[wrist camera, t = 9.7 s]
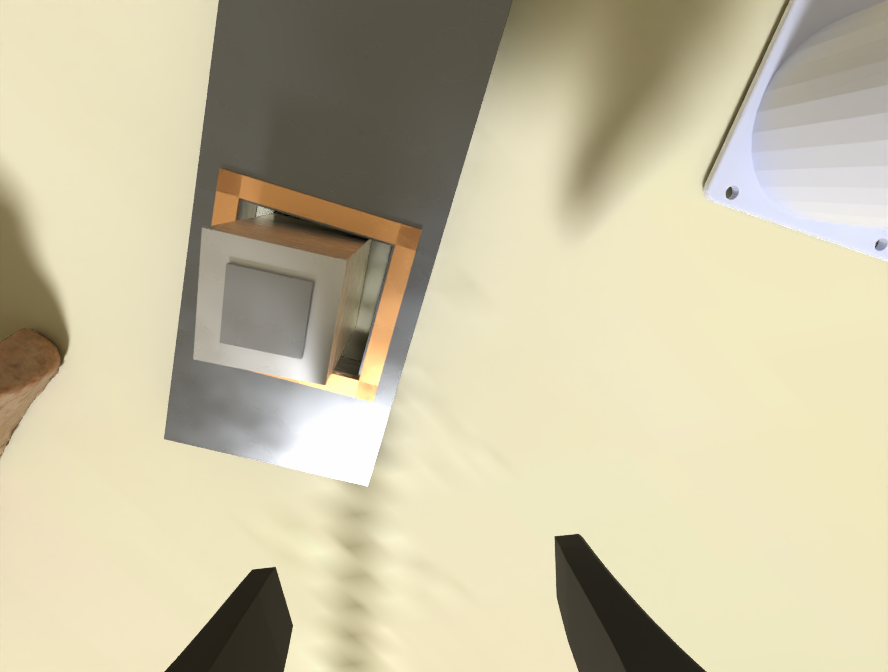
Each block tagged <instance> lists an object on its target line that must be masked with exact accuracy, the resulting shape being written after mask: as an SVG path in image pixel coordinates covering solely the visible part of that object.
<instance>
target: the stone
mask: <svg viewBox="0 0 888 672" xmlns="http://www.w3.org/2000/svg"><path fill="white" fill-rule="evenodd" d="M60 360H61V357H60V355H59V352H58V350H57V347H56V346H55V345H54V344H53V343H52V342H51V341H50V340H48V339H47V338H45V337H43V336H41V335H40V334H38V333H37V332H36V331H34V330H33V329H25V328H24V329H21V330H19V331H18V332H16V333H14V334H13V335H11V336H10V337H8V338H6V339H5V340H3V341H1V342H0V456H1V455H2V453H3V452H4V448H5V446H6V444H7V442H8V441H9V440H10V439H11V435H12V433H13V430H14V428H15V426H17V425H18V423H19V422H20V421H21V419H22V418H23V416H24V415H25V412H26V410H27V408H28V407H29V405H30V404H31V403H32V402H33V400H35V398H36V397H37V396H38V395H39V394H40V393H41V392H42V391H43V390H44V389H45V387H46V385H47V384H48V383H49V382H50V380H51V379H52V378H53V377H54V376H55V375H56V374H57V373H58V371H59V368H58V367H59V366H60V364H61V362H60ZM51 377H52V378H51Z"/></svg>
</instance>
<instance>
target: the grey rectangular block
mask: <svg viewBox="0 0 888 672" xmlns="http://www.w3.org/2000/svg"><path fill="white" fill-rule="evenodd" d="M370 246H371V239H368V238H365V237H361V236H358V235H355V234H351V233H348V232H345V231H341V230H338V229H335V228H331V227H328V226H325V225H321V224H317V223H312V222H308V221H304V220H299V219H295V218H291V217H287V216H282V215H278V214H274V213H273V214H268V215H263V216H258V217H253V218H248V219H243V220H238V221H232V222H227V223H222V224H217V225H212V226H207V227H202V234H201V249H200V265H199V280H198V295H197V310H196V325H195V341H194V356H193V359H194V360H199V361H204V362H209V363H214V364H219V365H224V366H229V367H234V368H239V369H244V370H249V371H254V372H259V373H264V374H270V375H275V376H280V377H285V378H290V379H295V380H300V381H305V382H310V383H315V384H320V385H326V383H327V381H328V380H329V378H330V376H331V374H332V372H333V370H334V368H335V366H336V364H337V362H338V360H339V358H340V356H341V354H342V352H343V351H344V349H345V347H346V345H347V343H348V341H349V339H350V337H351V335H352V333H353V331H354V329H355V327H356V322H357V317H358V311H359V306H360V300H361V295H362V289H363V284H364V278H365V273H366V268H367V262H368V257H369V251H370Z"/></svg>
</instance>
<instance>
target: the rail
mask: <svg viewBox="0 0 888 672" xmlns="http://www.w3.org/2000/svg"><path fill="white" fill-rule="evenodd" d="M511 3H512V0H219V4H218V12H217V20H216V28H215V36H214V44H213V52H212V60H211V68H210V76H209V84H208V92H207V100H206V108H205V116H204V124H203V132H202V140H201V148H200V156H199V164H198V172H197V180H196V188H195V196H194V204H193V212H192V220H191V228H190V236H189V244H188V252H187V260H186V268H185V276H184V284H183V292H182V300H181V308H180V316H179V324H178V332H177V340H176V348H175V356H174V364H173V372H172V380H171V388H170V396H169V404H168V412H167V420H166V428H165V436H164V439H166V440H171V441H175V442H179V443H184V444H188V445H192V446H197V447H201V448H205V449H210V450H214V451H218V452H223V453H227V454H231V455H236V456H240V457H244V458H249V459H253V460H257V461H262V462H266V463H270V464H275V465H279V466H283V467H288V468H292V469H296V470H301V471H305V472H309V473H313V474H318V475H322V476H326V477H331V478H335V479H339V480H344V481H348V482H352V483H357V484H361V485H365V486H368V484H369V480H370V477H371V474H372V470H373V467H374V463H375V460H376V457H377V453H378V450H379V447H380V443H381V440H382V437H383V433H384V430H385V427H386V423H387V420H388V416H389V413H390V410H391V406H392V403H393V400H394V396H395V393H396V390H397V386H398V383H399V380H400V376H401V373H402V369H403V366H404V363H405V359H406V356H407V353H408V349H409V346H410V343H411V339H412V336H413V332H414V329H415V326H416V322H417V319H418V316H419V312H420V309H421V306H422V302H423V299H424V296H425V292H426V289H427V285H428V282H429V279H430V275H431V272H432V269H433V265H434V262H435V259H436V255H437V252H438V249H439V245H440V242H441V238H442V235H443V232H444V228H445V225H446V222H447V218H448V215H449V212H450V208H451V205H452V202H453V198H454V195H455V191H456V188H457V185H458V181H459V178H460V175H461V171H462V168H463V165H464V161H465V158H466V155H467V151H468V148H469V144H470V141H471V138H472V134H473V131H474V128H475V124H476V121H477V118H478V114H479V111H480V108H481V104H482V101H483V97H484V94H485V91H486V87H487V84H488V81H489V77H490V74H491V71H492V67H493V64H494V60H495V57H496V54H497V50H498V47H499V44H500V40H501V37H502V34H503V30H504V27H505V24H506V20H507V17H508V13H509V10H510V7H511ZM257 205H258V206H261V207H265V208H268V209H271V210H275V211H278V212H281V213H285V214H288V215H291V216H295V217H298V218H301V219H305V220H308V221H311V222H315V223H318V224H321V225H325V226H328V227H331V228H335V229H338V230H341V231H345V232H348V233H351V234H355V235H358V236H361V237H365V238H368V239H371V240H375V241H378V242H381V243H385V244H388V245H391V246H392V250H391V253H390V257H389V261H388V265H387V269H386V272H385V276H384V280H383V284H382V287H381V291H380V295H379V299H378V302H377V306H376V310H375V314H374V317H373V321H372V325H371V329H370V333H369V336H368V340H367V344H366V348H365V351H364V355H363V359H362V362H360V361H356V360H352V359H348V358H345V357H341V356H340V358H339V360H338V362H337V364H336V366H335V368H334V370H333V372H332V374H331V376H330V378H329V380H328V381H327V383H326V385H320V384H315V383H310V382H305V381H300V380H295V379H290V378H285V377H280V376H275V375H270V374H264V373H259V372H254V371H249V370H244V369H239V368H234V367H229V366H224V365H219V364H214V363H209V362H204V361H199V360H194V359H193V356H194V341H195V325H196V310H197V295H198V280H199V265H200V249H201V234H202V227H207V226H212V225H217V224H222V223H227V222H232V221H238V220H243V219H248V218H253V217H255V216H256V210H257Z"/></svg>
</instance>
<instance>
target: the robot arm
mask: <svg viewBox="0 0 888 672" xmlns="http://www.w3.org/2000/svg"><path fill="white" fill-rule="evenodd" d="M729 187H732V190H733V192H732V195H731V196H730V198H726V190H727V189H728V188H729ZM703 192H704V196H705V198H706V199H707V200H709V201H711V202H714V203H717V204H719V205H722V206H725V207H728V208H731V209H734V210H737V211H740V212H743V213H746V214H749V215H752V216H754V217H757V218H760V219H763V220H766V221H769V222H772V223H775V224H778V225H781V226H784V227H787V228H789V229H792V230H795V231H798V232H801V233H804V234H807V235H810V236H813V237H816V238H819V239H822V240H824V241H827V242H830V243H833V244H836V245H839V246H842V247H845V248H848V249H851V250H854V251H857V252H859V253H862V254H865V255H868V256H871V257H874V258H877V259H880V260H883V261H886V262H888V0H790V1H789V3H788V5H787V7H786V10H785V12H784V14H783V16H782V18H781V20H780V23H779V25H778V27H777V29H776V31H775V33H774V36H773V38H772V40H771V42H770V44H769V46H768V49H767V51H766V53H765V55H764V57H763V59H762V62H761V64H760V66H759V68H758V70H757V72H756V75H755V77H754V79H753V81H752V83H751V85H750V88H749V90H748V92H747V94H746V96H745V99H744V101H743V103H742V105H741V107H740V109H739V112H738V114H737V116H736V118H735V120H734V122H733V125H732V127H731V129H730V131H729V133H728V135H727V138H726V140H725V142H724V144H723V146H722V148H721V151H720V153H719V155H718V157H717V159H716V161H715V164H714V166H713V168H712V170H711V172H710V174H709V177H708V179H707V181H706V183H705V186H704V189H703ZM878 240H879V243H878V245H877V246H876V248H875V244H876V242H877V241H878ZM555 561H556V590H557V600H558V604H559V608H560V612H561V616H562V620H563V624H564V628H565V631H566V635H567V639H568V642H569V645H570V648H571V651H572V654H573V657H574V659H575V662H576V665H577V668H578V671H579V672H706V671H705V670H704V669H703V668H702V667H701V666H699V665H698V664H697V663H696V662H695V661H694V660H693V659H692V658H691V657H690V656H689V655H688V654H687V653H685V652H684V651H683V650H682V649H681V648H680V647H679V646H678V645H677V644H676V643H675V642H674V641H673V640H672V639H671V638H670V637H669V636H668V635H667V634H666V633H665V632H664V631H663V630H662V629H661V628H660V627H659V626H658V625H657V624H656V623H655V622H654V621H653V620H652V619H651V618H650V616H649V615H648V614H647V613H646V612H645V611H644V610H643V609H642V608H641V607H640V606H639V605H638V604H637V602H636V601H635V600H634V599H633V598H632V597H631V596H630V595H629V594H628V592H627V591H626V590H625V589H624V588H623V587H622V586H621V585H620V583H619V582H618V581H617V580H616V579H615V578H614V576H613V575H612V574H611V573H610V572H609V570H608V569H607V568H606V567H605V565H604V564H603V563H602V562H601V561H600V559H599V558H598V557H597V555H596V554H595V553H594V552H593V550H592V549H591V548H590V546H589V545H588V544H587V542H586V541H585V540H584V538H583V537H582V536H580V535H579V534H573V535H564V536H555ZM292 628H293V624H292V621H291V618H290V614H289V611H288V607H287V604H286V601H285V597H284V594H283V590H282V587H281V584H280V580H279V577H278V574H277V570H276V567H272V568H263V569H254V570H252V571H251V572H250V573H249V574H248V575H247V576H246V578H245V579H244V580H243V581H242V582H241V583H240V585H239V586H238V587H237V588H236V589H235V590H234V592H233V593H232V594H231V595H230V596H229V598H228V599H227V600H226V601H225V602H224V604H223V605H222V606H221V607H220V608H219V610H218V611H217V612H216V613H215V614H214V616H213V617H212V618H211V619H210V620H209V622H208V623H207V624H206V625H205V626H204V627H203V629H202V630H201V631H200V632H199V633H198V634H197V636H196V637H195V638H194V639H193V640H192V641H191V643H190V644H189V645H188V646H187V647H186V648H185V650H184V651H183V652H182V653H181V654H180V655H179V656H178V657H177V659H176V660H175V661H174V662H173V663H172V664H171V665H170V666H169V667H168V668H167V669H166V671H165V672H284V668H285V663H286V658H287V654H288V649H289V644H290V638H291V633H292Z"/></svg>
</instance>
